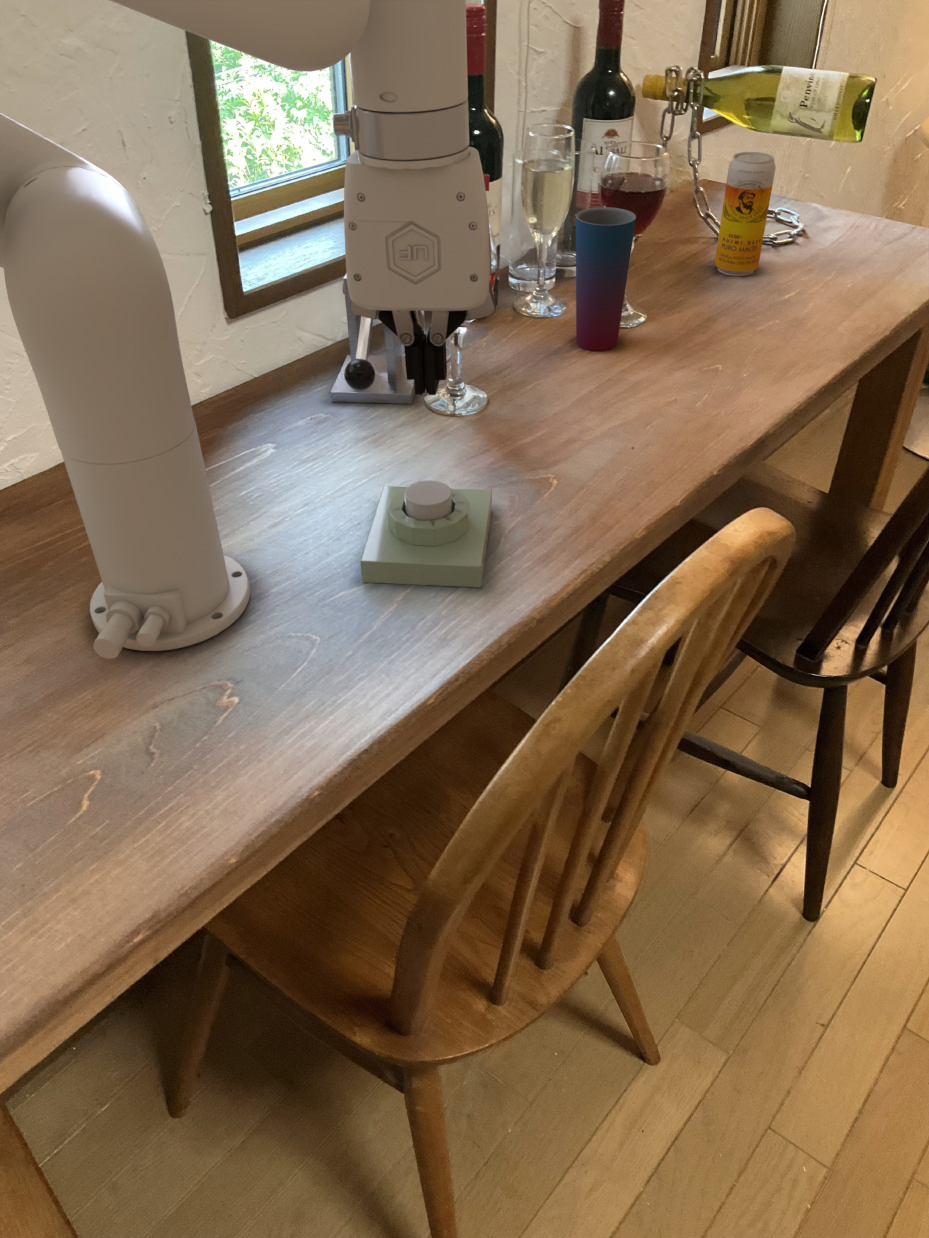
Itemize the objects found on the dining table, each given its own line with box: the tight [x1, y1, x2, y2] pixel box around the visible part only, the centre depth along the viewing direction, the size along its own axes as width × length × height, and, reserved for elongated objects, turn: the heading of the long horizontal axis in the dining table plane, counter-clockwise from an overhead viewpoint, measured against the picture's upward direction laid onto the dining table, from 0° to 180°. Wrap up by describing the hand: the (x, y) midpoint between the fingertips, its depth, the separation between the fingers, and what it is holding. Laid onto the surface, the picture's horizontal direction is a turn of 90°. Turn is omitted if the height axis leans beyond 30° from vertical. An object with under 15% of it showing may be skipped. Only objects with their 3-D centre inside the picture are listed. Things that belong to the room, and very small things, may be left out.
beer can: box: [714, 151, 777, 277], centre depth 133 cm, size 6×6×15 cm
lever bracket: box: [330, 272, 415, 405], centre depth 106 cm, size 10×9×13 cm
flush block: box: [360, 485, 493, 588], centre depth 83 cm, size 12×10×4 cm
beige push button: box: [404, 480, 452, 521], centre depth 82 cm, size 4×4×2 cm
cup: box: [575, 206, 637, 352], centre depth 113 cm, size 7×7×15 cm
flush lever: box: [344, 316, 375, 390], centre depth 101 cm, size 14×3×3 cm, turn 175°
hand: (427, 387), depth 75 cm, fingers closed
